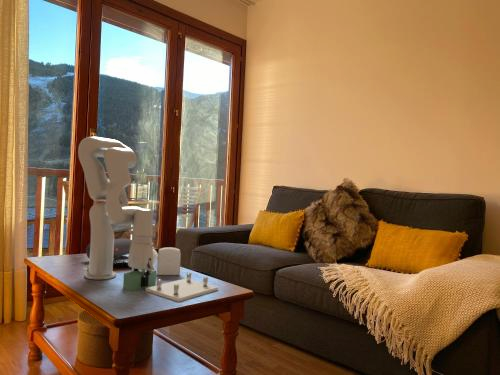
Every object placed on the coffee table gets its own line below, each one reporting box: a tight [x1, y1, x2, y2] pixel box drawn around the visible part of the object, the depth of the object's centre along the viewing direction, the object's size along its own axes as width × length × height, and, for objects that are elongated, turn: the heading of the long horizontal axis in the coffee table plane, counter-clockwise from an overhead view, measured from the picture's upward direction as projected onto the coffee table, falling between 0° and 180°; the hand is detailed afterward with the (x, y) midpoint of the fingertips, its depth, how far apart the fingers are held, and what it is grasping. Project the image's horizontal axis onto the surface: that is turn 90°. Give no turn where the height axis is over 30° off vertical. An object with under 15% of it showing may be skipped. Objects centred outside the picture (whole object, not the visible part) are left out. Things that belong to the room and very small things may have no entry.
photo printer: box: [156, 246, 182, 276], centre depth 181 cm, size 10×4×12 cm, turn 100°
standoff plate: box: [144, 272, 219, 303], centre depth 158 cm, size 18×22×5 cm
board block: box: [122, 269, 157, 292], centre depth 159 cm, size 5×12×6 cm, turn 145°
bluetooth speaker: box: [85, 238, 132, 260], centre depth 205 cm, size 23×9×10 cm, turn 149°
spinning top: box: [153, 248, 158, 266], centre depth 185 cm, size 8×8×12 cm
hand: (139, 284), depth 159 cm, fingers closed on board block, 5 cm apart
